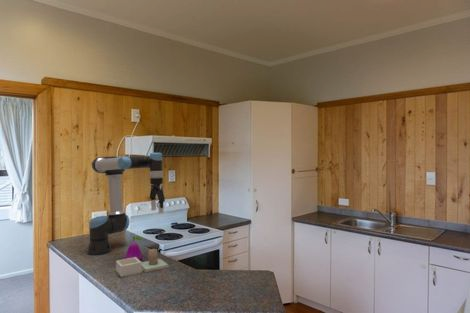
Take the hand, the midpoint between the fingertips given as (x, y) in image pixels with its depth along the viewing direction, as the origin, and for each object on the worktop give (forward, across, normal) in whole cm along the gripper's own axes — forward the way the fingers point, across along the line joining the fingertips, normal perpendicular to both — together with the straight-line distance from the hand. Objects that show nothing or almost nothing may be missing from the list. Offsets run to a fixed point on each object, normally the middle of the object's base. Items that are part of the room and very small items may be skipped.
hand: (157, 211), depth 198 cm
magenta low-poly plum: (+30, -8, -13) cm, 34 cm away
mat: (+30, +11, -7) cm, 32 cm away
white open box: (+30, +11, -21) cm, 38 cm away
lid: (+29, +11, -7) cm, 32 cm away
